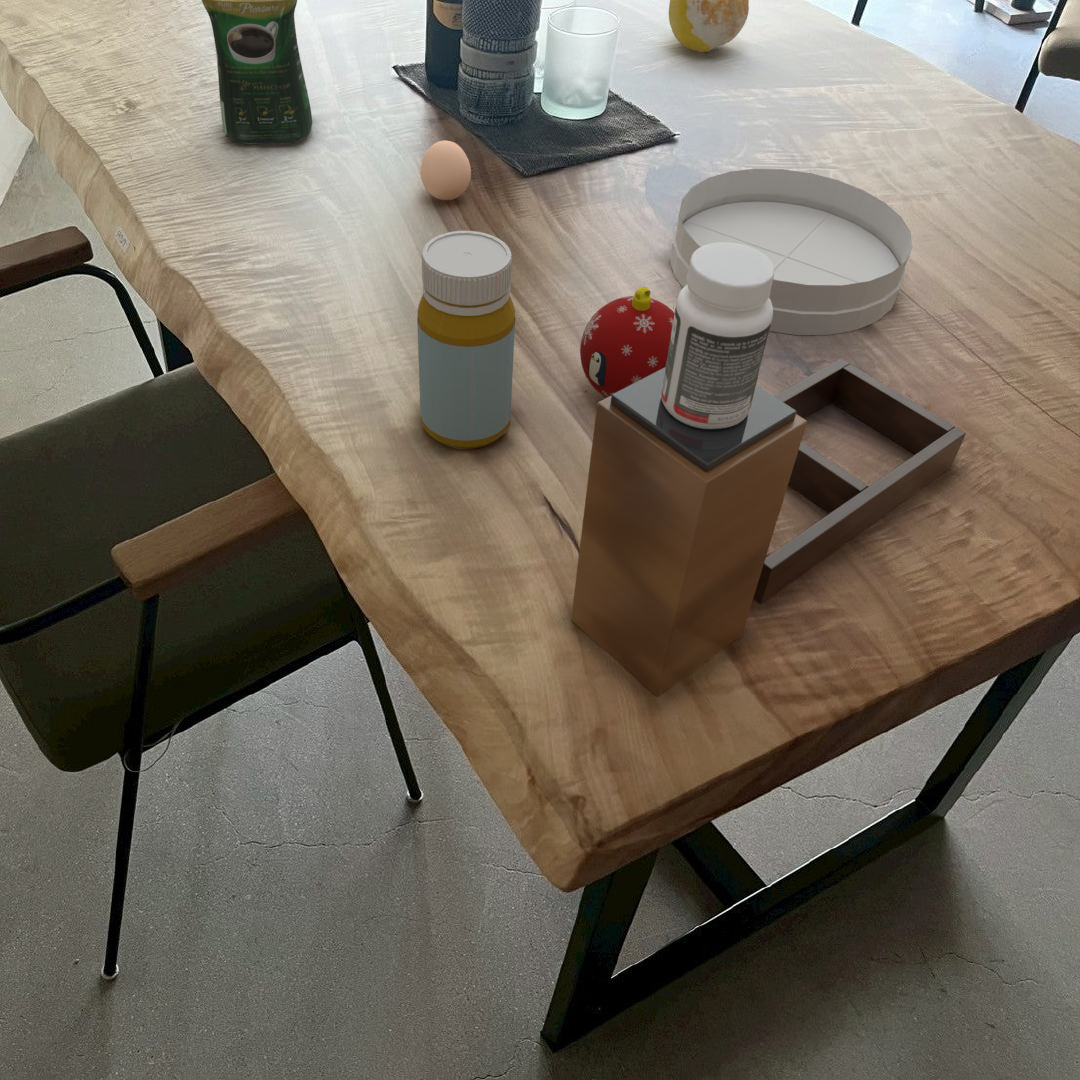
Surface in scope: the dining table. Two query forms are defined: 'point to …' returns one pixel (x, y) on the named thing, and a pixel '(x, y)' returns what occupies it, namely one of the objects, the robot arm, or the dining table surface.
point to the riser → (673, 545)
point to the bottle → (466, 339)
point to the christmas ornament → (626, 342)
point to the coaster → (695, 442)
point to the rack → (840, 489)
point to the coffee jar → (259, 71)
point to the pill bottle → (718, 336)
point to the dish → (802, 244)
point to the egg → (445, 170)
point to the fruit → (707, 22)
